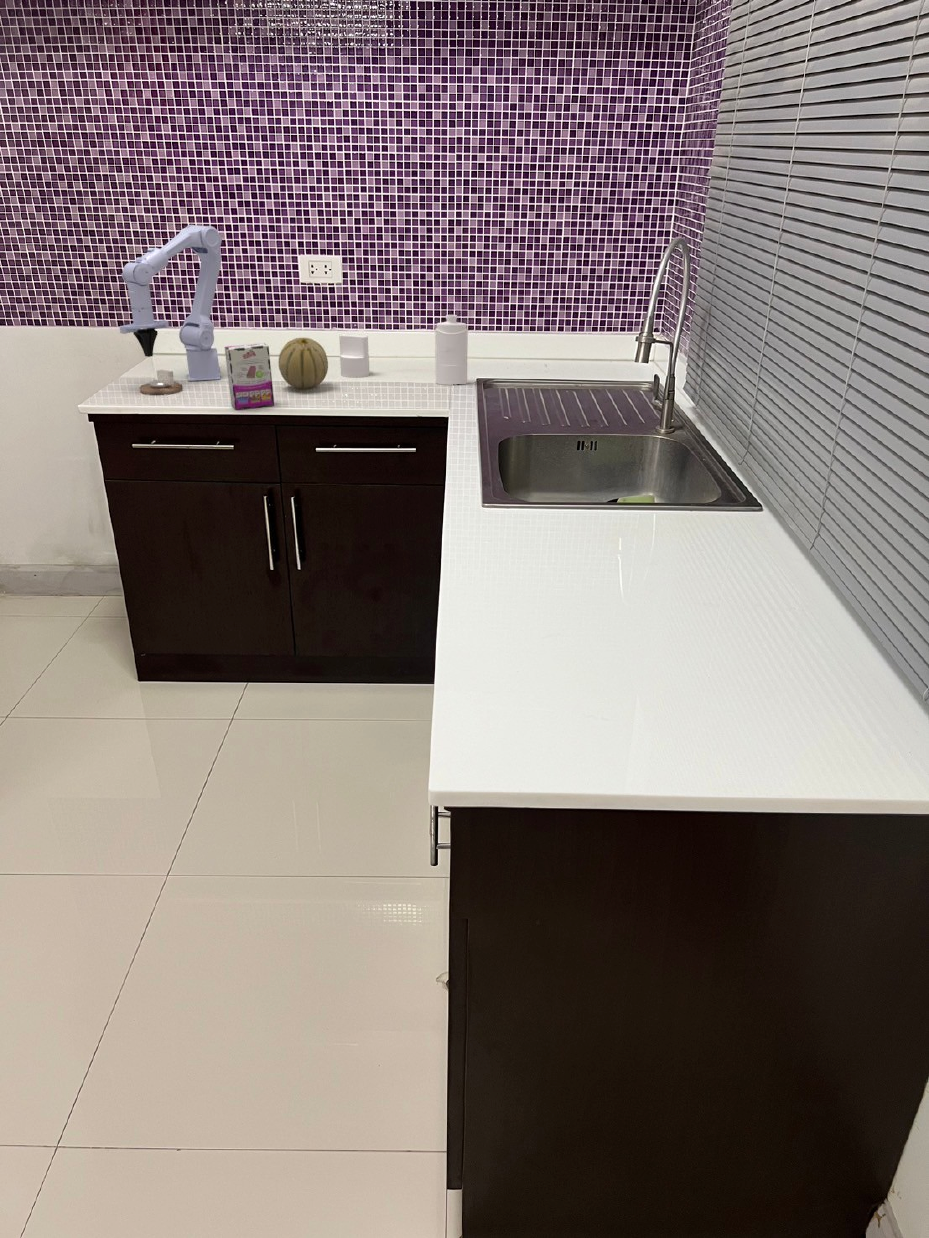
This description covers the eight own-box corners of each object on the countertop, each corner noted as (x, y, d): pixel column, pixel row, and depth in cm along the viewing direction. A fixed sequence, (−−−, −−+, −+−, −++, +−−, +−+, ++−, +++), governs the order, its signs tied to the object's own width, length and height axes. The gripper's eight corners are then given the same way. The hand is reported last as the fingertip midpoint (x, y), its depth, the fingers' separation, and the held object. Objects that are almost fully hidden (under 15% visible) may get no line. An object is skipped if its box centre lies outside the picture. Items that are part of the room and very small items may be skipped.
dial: (145, 386, 272) (143, 370, 270) (161, 382, 276) (159, 367, 274) (164, 389, 268) (162, 373, 266) (180, 385, 273) (178, 370, 271)
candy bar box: (269, 402, 262) (264, 342, 254) (274, 406, 258) (269, 345, 250) (230, 406, 257) (223, 345, 250) (235, 410, 253) (228, 348, 246)
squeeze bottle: (466, 385, 282) (467, 382, 286) (467, 317, 273) (468, 314, 277) (435, 385, 282) (436, 381, 287) (434, 316, 273) (435, 314, 278)
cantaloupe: (310, 380, 286) (307, 330, 280) (339, 388, 277) (337, 336, 270) (270, 388, 277) (265, 336, 270) (299, 396, 268) (295, 343, 261)
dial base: (182, 384, 280) (181, 380, 279) (183, 393, 270) (182, 389, 269) (140, 387, 277) (139, 382, 276) (140, 396, 267) (139, 391, 266)
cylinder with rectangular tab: (335, 376, 292) (333, 337, 287) (349, 370, 300) (347, 332, 294) (361, 378, 289) (359, 339, 284) (374, 373, 297) (373, 334, 291)
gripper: (125, 312, 258) (133, 361, 264) (171, 306, 268) (178, 354, 274) (112, 309, 263) (120, 358, 269) (158, 303, 272) (165, 351, 278)
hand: (148, 356), depth 272 cm, fingers closed
